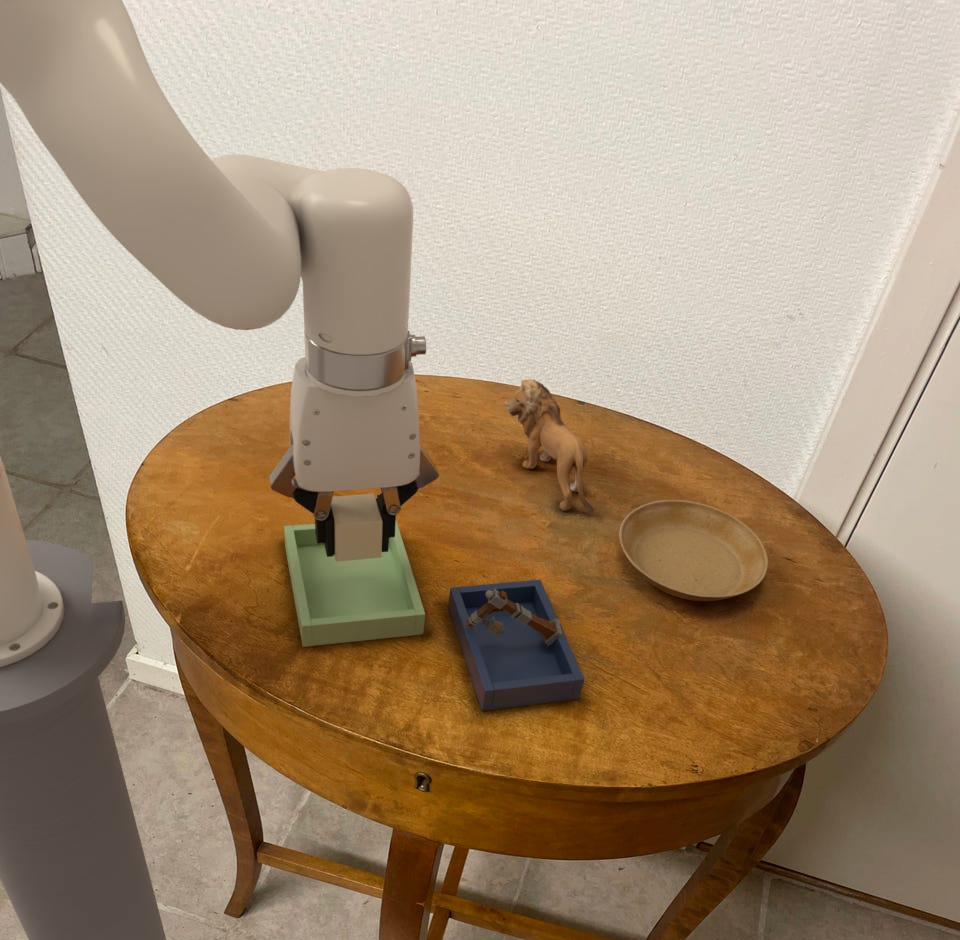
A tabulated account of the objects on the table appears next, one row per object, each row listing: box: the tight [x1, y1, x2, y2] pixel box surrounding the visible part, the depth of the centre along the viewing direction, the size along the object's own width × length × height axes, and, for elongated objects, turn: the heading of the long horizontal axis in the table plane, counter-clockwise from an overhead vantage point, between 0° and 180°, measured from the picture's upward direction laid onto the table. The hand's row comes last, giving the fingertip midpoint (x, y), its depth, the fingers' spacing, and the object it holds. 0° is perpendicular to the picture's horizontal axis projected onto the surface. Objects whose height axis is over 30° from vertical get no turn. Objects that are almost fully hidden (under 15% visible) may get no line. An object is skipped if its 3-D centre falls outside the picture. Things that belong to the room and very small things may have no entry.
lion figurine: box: [504, 378, 596, 514], centre depth 100 cm, size 15×5×9 cm, turn 35°
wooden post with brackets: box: [466, 589, 562, 646], centre depth 81 cm, size 2×8×4 cm
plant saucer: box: [618, 499, 769, 602], centre depth 94 cm, size 15×15×3 cm
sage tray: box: [283, 520, 426, 648], centre depth 86 cm, size 11×14×2 cm
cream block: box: [331, 493, 383, 561], centre depth 82 cm, size 4×4×4 cm
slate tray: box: [447, 579, 585, 712], centre depth 83 cm, size 9×13×2 cm
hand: (355, 542), depth 83 cm, fingers closed on cream block, 4 cm apart
